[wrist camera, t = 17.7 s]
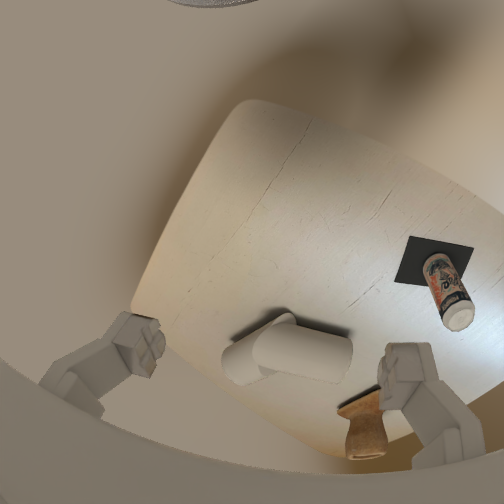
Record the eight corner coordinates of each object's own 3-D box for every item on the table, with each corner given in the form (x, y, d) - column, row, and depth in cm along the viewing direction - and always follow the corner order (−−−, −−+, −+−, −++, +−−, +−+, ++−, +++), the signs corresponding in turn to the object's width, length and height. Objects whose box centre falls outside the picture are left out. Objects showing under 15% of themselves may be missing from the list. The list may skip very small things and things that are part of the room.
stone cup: (361, 418, 64) (359, 467, 51) (330, 406, 62) (326, 460, 50) (406, 396, 55) (410, 450, 43) (377, 382, 54) (380, 442, 41)
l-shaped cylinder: (296, 284, 42) (217, 336, 53) (300, 345, 34) (211, 386, 45) (359, 327, 50) (283, 365, 60) (369, 377, 42) (284, 409, 52)
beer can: (445, 246, 35) (476, 299, 25) (451, 270, 36) (478, 324, 26) (418, 259, 37) (441, 316, 27) (426, 282, 39) (446, 339, 29)
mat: (394, 281, 40) (394, 282, 40) (409, 235, 36) (409, 236, 36) (455, 289, 38) (455, 290, 38) (473, 247, 34) (474, 248, 34)
